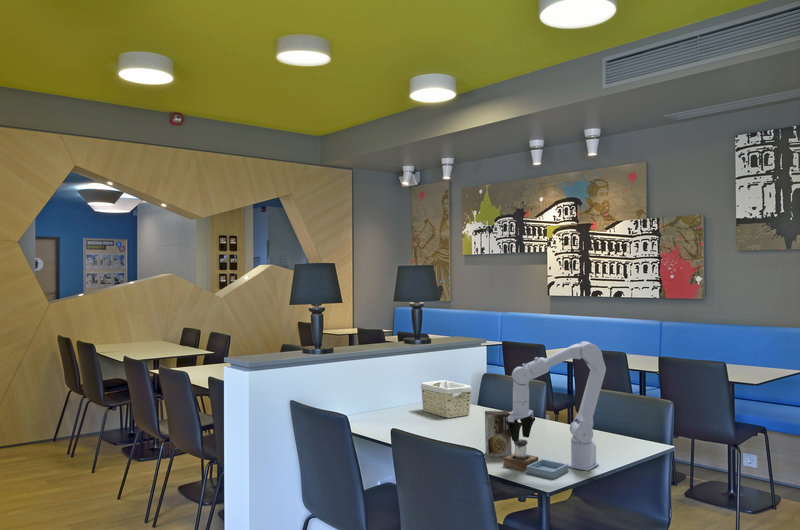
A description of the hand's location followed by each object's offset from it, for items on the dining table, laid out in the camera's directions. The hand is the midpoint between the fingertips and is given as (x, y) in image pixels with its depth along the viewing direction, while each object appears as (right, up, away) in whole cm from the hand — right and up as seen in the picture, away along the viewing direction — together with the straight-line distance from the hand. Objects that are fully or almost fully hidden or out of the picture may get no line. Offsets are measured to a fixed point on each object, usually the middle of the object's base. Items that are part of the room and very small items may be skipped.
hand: (520, 439), depth 223 cm
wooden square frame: (0, -10, 0) cm, 10 cm away
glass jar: (0, -10, 0) cm, 10 cm away
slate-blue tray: (+8, -9, -8) cm, 14 cm away
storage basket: (-20, -12, +89) cm, 92 cm away
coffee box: (-6, -10, +15) cm, 19 cm away
